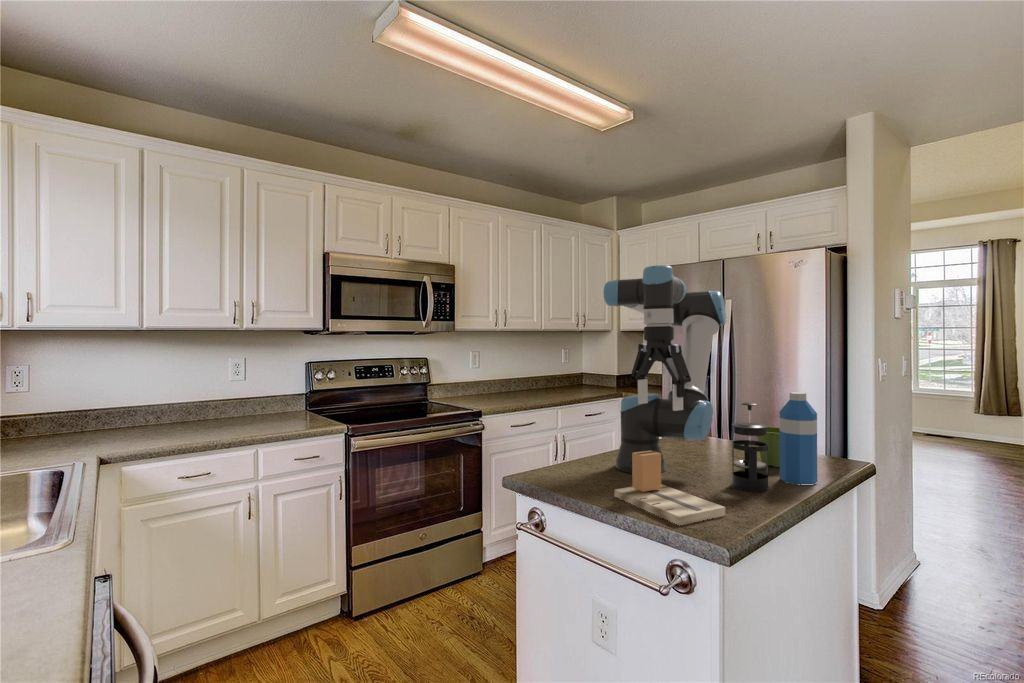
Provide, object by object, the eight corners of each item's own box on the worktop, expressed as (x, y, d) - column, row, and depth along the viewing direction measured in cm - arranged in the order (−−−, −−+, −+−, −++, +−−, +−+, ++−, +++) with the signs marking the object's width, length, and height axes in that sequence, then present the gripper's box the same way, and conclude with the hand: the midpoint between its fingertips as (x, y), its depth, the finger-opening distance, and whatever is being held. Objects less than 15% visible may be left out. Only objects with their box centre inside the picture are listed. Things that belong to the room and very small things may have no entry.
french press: (729, 480, 149) (729, 400, 149) (765, 483, 146) (765, 401, 146) (733, 492, 138) (733, 405, 137) (773, 495, 135) (772, 406, 135)
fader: (632, 487, 134) (632, 452, 134) (650, 484, 136) (650, 449, 136) (642, 491, 130) (642, 455, 130) (661, 488, 133) (661, 452, 133)
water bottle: (772, 478, 150) (771, 392, 150) (796, 475, 153) (795, 390, 153) (800, 487, 141) (800, 395, 141) (825, 483, 145) (824, 393, 144)
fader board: (614, 497, 134) (614, 489, 134) (656, 489, 140) (656, 482, 140) (679, 525, 113) (679, 516, 113) (725, 515, 120) (725, 506, 120)
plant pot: (780, 471, 158) (779, 434, 158) (745, 463, 169) (745, 428, 169) (803, 466, 164) (803, 430, 164) (769, 458, 175) (769, 425, 174)
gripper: (617, 326, 145) (619, 401, 146) (681, 325, 123) (682, 414, 123) (639, 325, 149) (640, 399, 149) (705, 324, 126) (706, 412, 126)
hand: (659, 406), depth 136 cm, fingers open, 13 cm apart
